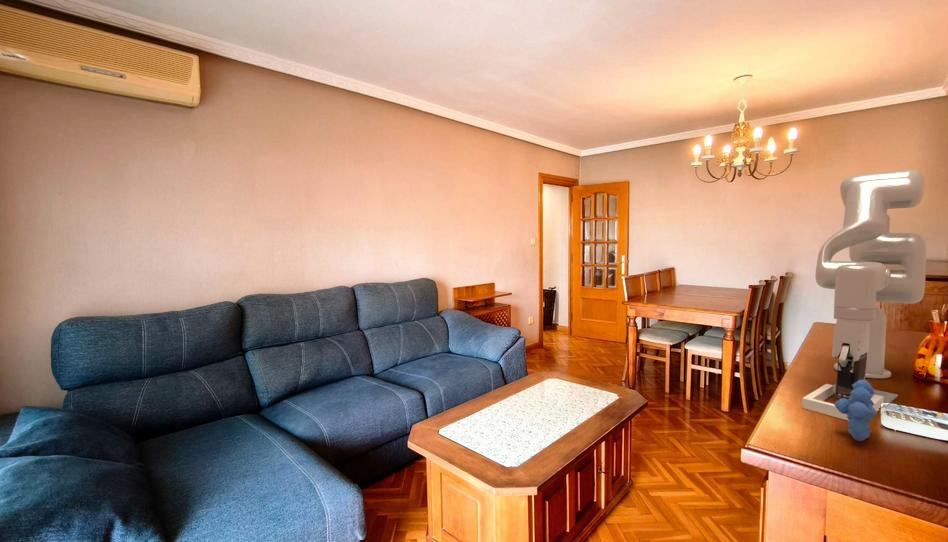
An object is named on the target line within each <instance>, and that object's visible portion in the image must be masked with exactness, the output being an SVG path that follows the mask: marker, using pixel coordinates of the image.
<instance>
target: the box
mask: <svg viewBox="0 0 948 542" xmlns="http://www.w3.org/2000/svg"><path fill="white" fill-rule="evenodd" d="M840 353H841V352H840ZM839 355H840V354H839ZM839 357H840V356H839ZM839 357H838V358H837V359H838V360H837V363H838V367H839ZM848 359H851V360H852V359H853V358H852V357H848ZM866 360H867V352H866V353H865V354H863V355H860V359H859V361H856V363H855V370H854V373H856V382H857V381H859V380H866V377H865V371H866ZM847 363H849V364H850V366H851V362H847ZM836 371H837V372H836V382H835V384H836V394H834V396H835V397H836V398H837V399H842V398H845V399H847V400H848V399H849V396H850V395H851V394H850V392H851V391H852V390H854V389H851V388H847V387H842V386H839V385H838V369H837V370H836Z"/></svg>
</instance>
